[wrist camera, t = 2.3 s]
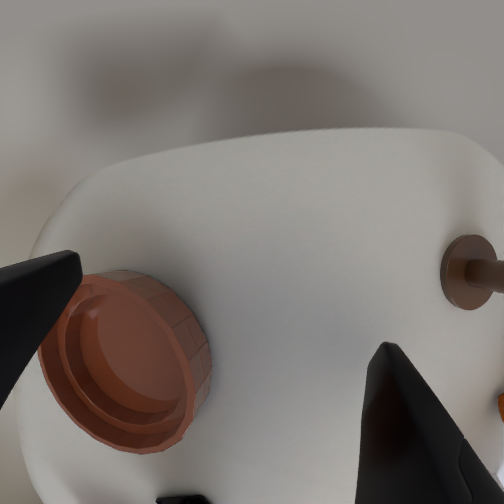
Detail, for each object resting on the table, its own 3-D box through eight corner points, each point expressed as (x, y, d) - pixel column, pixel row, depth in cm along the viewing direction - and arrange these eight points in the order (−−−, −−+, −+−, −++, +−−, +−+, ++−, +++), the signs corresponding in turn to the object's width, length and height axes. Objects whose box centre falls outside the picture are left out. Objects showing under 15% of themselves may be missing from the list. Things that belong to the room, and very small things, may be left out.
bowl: (244, 400, 21) (234, 435, 16) (119, 433, 23) (94, 459, 18) (162, 239, 22) (130, 237, 17) (52, 306, 23) (16, 315, 18)
